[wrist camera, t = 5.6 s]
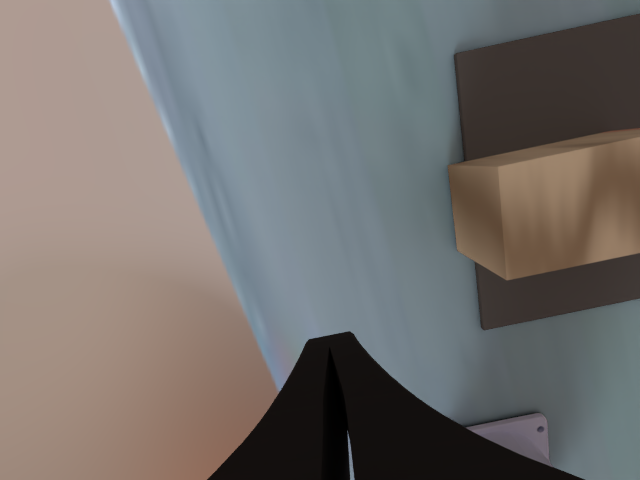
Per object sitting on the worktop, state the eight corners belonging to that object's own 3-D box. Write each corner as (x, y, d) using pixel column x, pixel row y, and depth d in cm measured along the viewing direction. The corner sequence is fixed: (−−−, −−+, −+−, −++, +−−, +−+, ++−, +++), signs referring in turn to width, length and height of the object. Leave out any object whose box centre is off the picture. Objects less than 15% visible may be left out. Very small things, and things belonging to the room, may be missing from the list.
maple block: (457, 250, 20) (609, 219, 19) (506, 280, 15) (709, 238, 15) (447, 165, 18) (609, 131, 18) (497, 166, 14) (718, 120, 13)
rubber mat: (653, 292, 21) (658, 294, 21) (481, 327, 21) (483, 330, 21) (662, 10, 17) (669, 7, 17) (453, 55, 17) (456, 53, 17)
